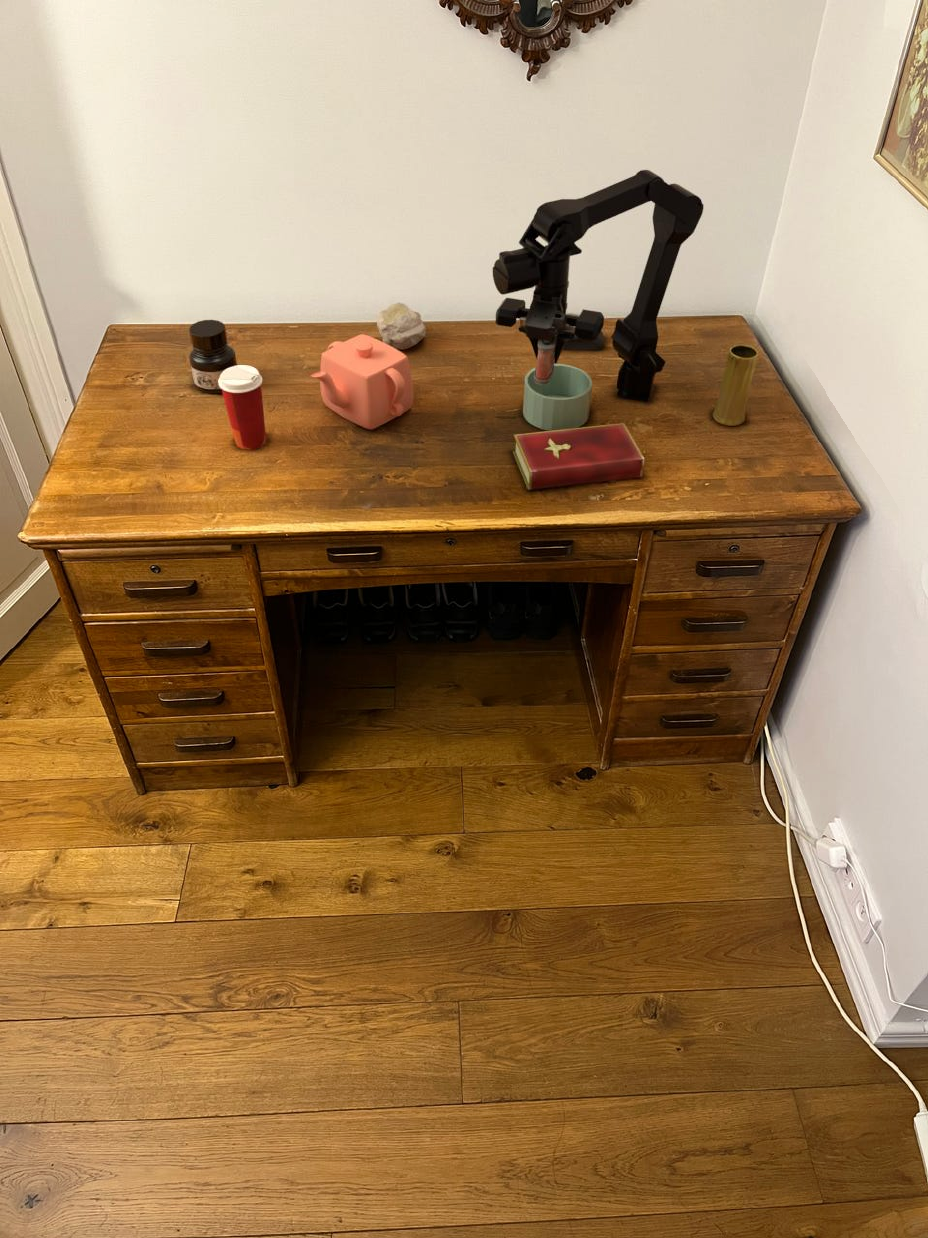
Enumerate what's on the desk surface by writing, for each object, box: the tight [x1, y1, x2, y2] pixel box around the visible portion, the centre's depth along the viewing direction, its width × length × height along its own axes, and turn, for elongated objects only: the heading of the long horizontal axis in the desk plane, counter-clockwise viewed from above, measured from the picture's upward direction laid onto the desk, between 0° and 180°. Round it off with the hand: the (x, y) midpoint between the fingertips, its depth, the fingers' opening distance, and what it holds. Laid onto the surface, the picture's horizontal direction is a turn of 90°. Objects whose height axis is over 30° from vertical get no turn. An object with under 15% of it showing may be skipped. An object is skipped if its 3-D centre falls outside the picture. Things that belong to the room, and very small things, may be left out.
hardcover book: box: [512, 422, 646, 491], centre depth 177 cm, size 12×21×4 cm, turn 102°
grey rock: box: [376, 301, 427, 350], centre depth 207 cm, size 12×8×10 cm
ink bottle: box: [188, 319, 238, 394], centre depth 193 cm, size 10×9×12 cm
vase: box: [712, 344, 759, 427], centre depth 185 cm, size 6×6×14 cm
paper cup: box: [218, 364, 267, 451], centre depth 178 cm, size 8×8×14 cm
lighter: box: [534, 334, 558, 385], centre depth 180 cm, size 8×3×10 cm, turn 168°
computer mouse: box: [562, 330, 605, 351], centre depth 209 cm, size 6×11×4 cm, turn 89°
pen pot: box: [522, 363, 593, 431], centre depth 189 cm, size 13×13×7 cm
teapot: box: [310, 333, 415, 430], centre depth 185 cm, size 20×19×14 cm
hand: (547, 360), depth 182 cm, fingers closed on lighter, 3 cm apart
